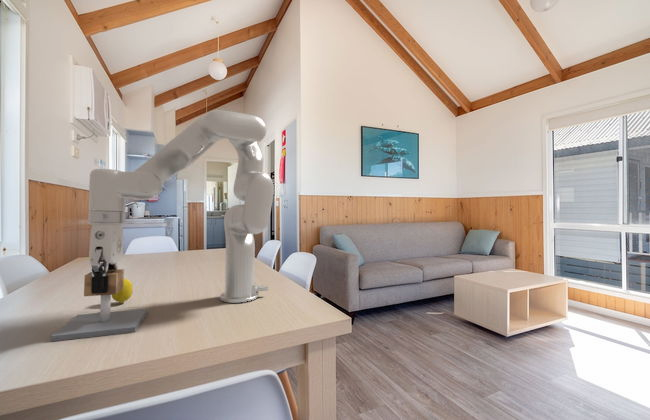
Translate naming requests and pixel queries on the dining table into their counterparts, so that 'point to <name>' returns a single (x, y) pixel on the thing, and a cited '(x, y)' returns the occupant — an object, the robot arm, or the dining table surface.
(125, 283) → the lemon
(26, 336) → the dining table surface
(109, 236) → the robot arm
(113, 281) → the brown wooden hollow block
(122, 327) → the grey peg board
